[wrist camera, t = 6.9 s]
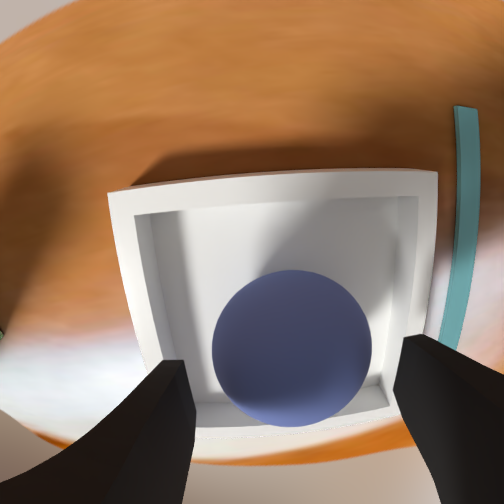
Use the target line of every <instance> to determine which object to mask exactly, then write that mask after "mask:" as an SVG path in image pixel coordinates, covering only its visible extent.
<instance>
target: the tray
mask: <svg viewBox="0 0 504 504" xmlns="http://www.w3.org/2000/svg"><path fill="white" fill-rule="evenodd" d="M108 201H109V208H110V215H111V221H112V227H113V233H114V239H115V244H116V250H117V255H118V260H119V265H120V270H121V275H122V280H123V284H124V289H125V293H126V297H127V301H128V306H129V310H130V314H131V318H132V321H133V325H134V329H135V333H136V336H137V340H138V343H139V347H140V350H141V354H142V357H143V361H144V364H145V367H146V370H147V373H148V374H149V373H150V372H151V371H152V370H153V369H154V368H155V367H156V366H157V365H158V364H159V363H160V362H161V361H162V360H184V363H185V367H186V371H187V376H188V380H189V384H190V388H191V392H192V396H193V399H194V403H195V407H196V411H197V415H196V430H195V439H224V438H251V437H266V436H279V435H289V434H298V433H306V432H314V431H321V430H328V429H334V428H340V427H345V426H351V425H356V424H361V423H366V422H371V421H375V420H380V419H384V418H388V417H392V416H396V415H400V414H401V413H400V410H399V407H398V405H397V402H396V399H395V396H394V393H393V386H394V382H395V377H396V373H397V368H398V364H399V359H400V354H401V348H402V343H403V337H407V336H412V335H417V334H423V329H424V324H425V319H426V313H427V307H428V301H429V294H430V287H431V279H432V271H433V262H434V252H435V240H436V226H437V203H438V172H434V171H427V170H420V169H412V168H338V169H309V170H288V171H271V172H257V173H244V174H232V175H221V176H210V177H201V178H191V179H183V180H174V181H166V182H158V183H151V184H143V185H136V186H130V187H126V188H123V189H119V190H116V191H113V192H109V193H108ZM284 270H302V271H308V272H314V273H317V274H320V275H323V276H325V277H327V278H329V279H331V280H333V281H335V282H336V283H338V284H339V285H341V286H342V287H344V288H345V289H346V290H347V291H348V292H349V293H350V294H351V295H352V296H353V297H354V298H355V300H356V301H357V302H358V303H359V305H360V307H361V309H362V310H363V312H364V314H365V316H366V318H367V321H368V324H369V328H370V332H371V338H372V356H371V362H370V367H369V370H368V373H367V376H366V378H365V380H364V382H363V384H362V386H361V388H360V390H359V391H358V393H357V394H356V395H355V396H354V398H353V399H352V400H351V401H350V402H349V403H348V404H347V405H346V406H345V407H344V408H343V409H341V410H340V411H339V412H337V413H336V414H334V415H333V416H331V417H329V418H327V419H325V420H323V421H320V422H318V423H315V424H311V425H307V426H301V427H279V426H273V425H269V424H266V423H263V422H261V421H258V420H256V419H254V418H252V417H250V416H248V415H247V414H245V413H244V412H243V411H241V410H240V409H239V408H237V407H236V406H235V405H234V404H233V403H232V402H231V400H230V399H229V398H228V396H227V395H226V394H225V393H224V391H223V389H222V388H221V386H220V384H219V382H218V380H217V377H216V374H215V371H214V366H213V361H212V339H213V333H214V330H215V326H216V323H217V320H218V318H219V316H220V314H221V312H222V310H223V309H224V307H225V306H226V304H227V303H228V302H229V300H230V299H231V298H232V297H233V296H234V295H235V294H236V293H237V292H238V291H239V290H240V289H242V288H243V287H244V286H245V285H247V284H248V283H250V282H252V281H253V280H255V279H257V278H259V277H261V276H264V275H267V274H270V273H273V272H278V271H284Z"/></svg>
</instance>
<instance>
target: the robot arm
mask: <svg viewBox="0 0 504 504" xmlns="http://www.w3.org/2000/svg"><path fill="white" fill-rule="evenodd" d="M393 393H394V396H395V399H396V402H397V405H398V407H399V410H400V413H401V415H402V418H403V420H404V422H405V424H406V426H407V428H408V430H409V432H410V434H411V435H412V437H413V439H414V441H415V443H416V445H417V447H418V449H419V451H420V453H421V455H422V457H423V459H424V461H425V463H426V465H427V467H428V469H429V471H430V473H431V475H432V478H433V480H434V483H435V486H436V489H437V492H438V495H439V498H440V502H441V504H504V375H503V374H501V373H499V372H497V371H494V370H492V369H490V368H488V367H486V366H484V365H482V364H480V363H478V362H476V361H474V360H472V359H471V358H469V357H467V356H465V355H463V354H461V353H459V352H457V351H455V350H454V349H452V348H450V347H448V346H446V345H444V344H442V343H440V342H438V341H436V340H434V339H432V338H430V337H428V336H426V335H423V334H417V335H412V336H407V337H403V343H402V348H401V354H400V359H399V364H398V368H397V373H396V377H395V382H394V386H393ZM196 415H197V411H196V407H195V403H194V399H193V396H192V392H191V388H190V384H189V380H188V376H187V371H186V367H185V363H184V360H162V361H161V362H160V363H159V364H158V365H157V366H156V367H155V368H154V369H153V370H152V371H151V372H150V373H149V374H148V375H147V376H146V377H145V379H144V380H143V381H142V382H141V383H140V384H139V385H138V386H137V387H136V388H135V389H134V390H133V391H132V392H131V393H130V394H129V395H128V396H127V397H126V398H125V399H124V400H123V401H122V402H121V403H120V404H119V405H118V406H117V407H116V408H115V409H114V410H113V411H112V412H110V413H109V414H108V415H107V416H106V417H105V418H104V419H103V420H101V421H100V422H99V423H98V424H97V425H96V426H95V427H94V428H92V429H91V430H90V431H89V432H88V433H86V434H85V435H84V436H82V437H81V438H80V439H78V440H77V441H76V442H74V443H73V444H71V445H70V446H69V447H67V448H66V449H64V450H63V451H61V452H60V453H58V454H57V455H55V456H53V457H51V458H50V459H48V460H46V461H44V462H43V463H41V464H39V465H37V466H36V467H34V468H32V469H30V470H29V471H27V472H24V473H22V474H20V475H18V476H15V477H13V478H11V479H8V480H6V481H3V482H1V483H0V504H182V500H183V496H184V491H185V485H186V481H187V476H188V471H189V467H190V462H191V457H192V452H193V447H194V442H195V430H196Z"/></svg>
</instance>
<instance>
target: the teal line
mask: <svg viewBox="0 0 504 504" xmlns="http://www.w3.org/2000/svg"><path fill="white" fill-rule="evenodd" d="M454 117H455V130H456V148H457V206H456V224H455V237H454V248H453V257H452V266H451V274H450V281H449V287H448V294H447V299H446V305H445V311H444V316H443V321H442V326H441V330H440V335H439V339H438V342H440V343H442V344H444V345H446V346H448V347H450V348H452V349H454V350H455V351H456V349H457V345H458V341H459V338H460V334H461V330H462V325H463V321H464V317H465V312H466V307H467V303H468V297H469V292H470V287H471V281H472V275H473V268H474V261H475V253H476V245H477V235H478V223H479V208H480V137H479V123H478V112H477V109H473V108H468V107H463V106H458V105H457V106H454Z"/></svg>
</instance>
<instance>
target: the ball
mask: <svg viewBox="0 0 504 504" xmlns="http://www.w3.org/2000/svg"><path fill="white" fill-rule="evenodd" d="M371 356H372V338H371V332H370V328H369V324H368V321H367V318H366V316H365V314H364V312H363V310H362V309H361V307H360V305H359V303H358V302H357V301H356V300H355V298H354V297H353V296H352V295H351V294H350V293H349V292H348V291H347V290H346V289H345V288H344V287H342V286H341V285H339V284H338V283H336V282H335V281H333V280H331V279H329V278H327V277H325V276H323V275H320V274H317V273H314V272H308V271H302V270H284V271H278V272H273V273H270V274H267V275H264V276H261V277H259V278H257V279H255V280H253V281H252V282H250V283H248V284H247V285H245V286H244V287H243V288H242V289H240V290H239V291H238V292H237V293H236V294H235V295H234V296H233V297H232V298H231V299H230V300H229V302H228V303H227V304H226V306H225V307H224V309H223V310H222V312H221V314H220V316H219V318H218V320H217V323H216V326H215V330H214V333H213V339H212V361H213V366H214V371H215V374H216V377H217V380H218V382H219V384H220V386H221V388H222V389H223V391H224V393H225V394H226V395H227V396H228V398H229V399H230V400H231V402H232V403H233V404H234V405H235V406H236V407H237V408H239V409H240V410H241V411H243V412H244V413H245V414H247V415H248V416H250V417H252V418H254V419H256V420H258V421H261V422H263V423H266V424H269V425H273V426H279V427H301V426H307V425H311V424H315V423H318V422H320V421H323V420H325V419H327V418H329V417H331V416H333V415H334V414H336V413H337V412H339V411H340V410H341V409H343V408H344V407H345V406H346V405H347V404H348V403H349V402H350V401H351V400H352V399H353V398H354V396H355V395H356V394H357V393H358V391H359V390H360V388H361V386H362V384H363V382H364V380H365V378H366V376H367V373H368V370H369V367H370V362H371Z"/></svg>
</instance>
